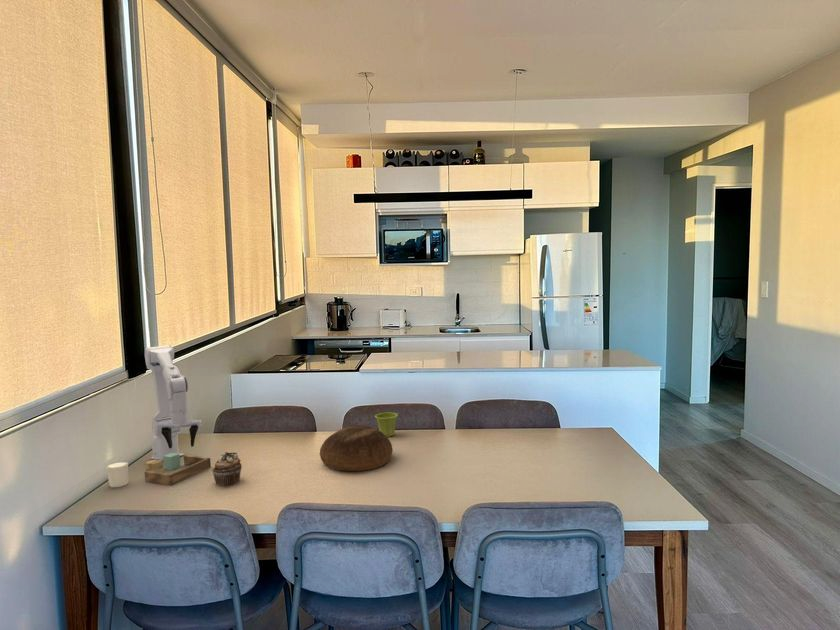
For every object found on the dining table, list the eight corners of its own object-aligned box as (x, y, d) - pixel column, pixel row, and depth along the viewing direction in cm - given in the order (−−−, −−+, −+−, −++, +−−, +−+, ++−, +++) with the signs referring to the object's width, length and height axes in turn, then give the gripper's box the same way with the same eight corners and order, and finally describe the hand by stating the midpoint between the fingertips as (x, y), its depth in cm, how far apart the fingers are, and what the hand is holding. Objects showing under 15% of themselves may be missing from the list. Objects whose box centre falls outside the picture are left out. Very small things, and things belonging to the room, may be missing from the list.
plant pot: (397, 438, 250) (396, 417, 249) (375, 438, 250) (374, 418, 249) (398, 431, 259) (398, 412, 258) (377, 432, 259) (376, 412, 258)
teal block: (164, 469, 222) (162, 456, 221) (172, 465, 226) (171, 452, 225) (172, 470, 220) (171, 457, 220) (180, 466, 224) (179, 453, 224)
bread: (407, 458, 223) (405, 424, 222) (352, 479, 204) (350, 442, 203) (361, 446, 241) (359, 414, 240) (306, 464, 222) (304, 429, 221)
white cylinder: (134, 481, 210) (132, 462, 209) (118, 488, 203) (116, 468, 203) (119, 479, 212) (117, 460, 211) (103, 487, 206) (101, 467, 205)
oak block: (146, 476, 215) (145, 462, 214) (155, 472, 218) (154, 459, 218) (154, 477, 213) (153, 464, 213) (163, 474, 217) (162, 460, 216)
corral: (145, 481, 209) (144, 471, 209) (186, 463, 227) (185, 454, 226) (170, 485, 205) (169, 475, 204) (210, 467, 222) (210, 458, 221)
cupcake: (219, 477, 211) (217, 449, 210) (246, 476, 210) (244, 449, 210) (208, 487, 201) (206, 458, 200) (237, 486, 201) (235, 458, 200)
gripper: (154, 414, 212) (157, 451, 213) (197, 411, 214) (200, 448, 216) (160, 409, 219) (162, 445, 220) (201, 406, 221) (204, 442, 222)
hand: (181, 446), depth 218 cm, fingers open, 7 cm apart
